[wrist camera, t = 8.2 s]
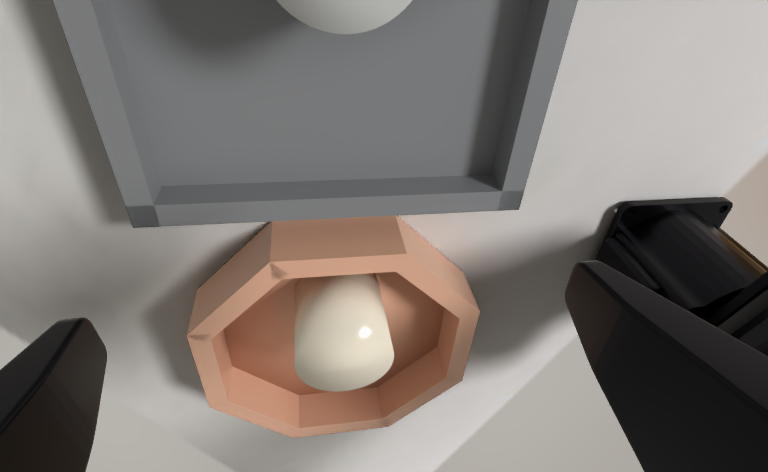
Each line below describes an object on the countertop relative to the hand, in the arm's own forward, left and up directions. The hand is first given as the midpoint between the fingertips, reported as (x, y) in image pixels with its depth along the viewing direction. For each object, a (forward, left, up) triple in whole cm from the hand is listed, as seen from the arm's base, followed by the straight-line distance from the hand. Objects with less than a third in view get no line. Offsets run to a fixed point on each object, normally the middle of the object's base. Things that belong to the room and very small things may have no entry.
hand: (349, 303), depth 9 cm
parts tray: (0, -2, -12) cm, 12 cm away
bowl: (0, +13, -12) cm, 18 cm away
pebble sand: (-1, +11, -11) cm, 15 cm away
